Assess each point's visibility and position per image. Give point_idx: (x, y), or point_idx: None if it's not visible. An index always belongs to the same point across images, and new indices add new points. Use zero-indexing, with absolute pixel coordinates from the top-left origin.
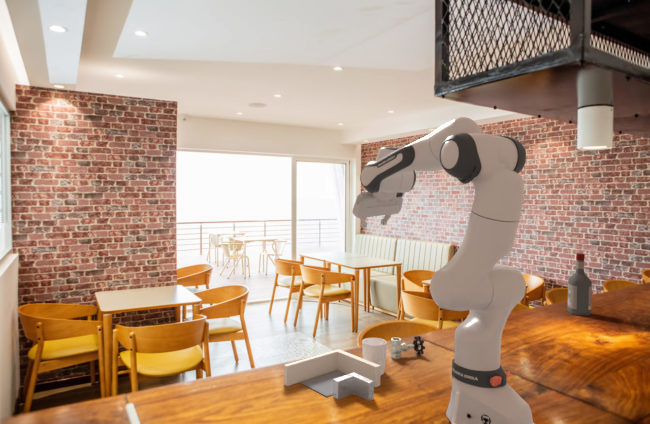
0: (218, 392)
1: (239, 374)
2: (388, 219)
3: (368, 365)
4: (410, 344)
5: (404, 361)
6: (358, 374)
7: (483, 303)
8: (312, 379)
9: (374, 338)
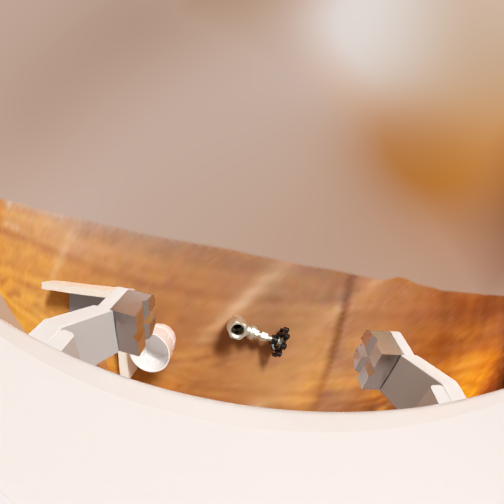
0: (13, 245)
1: (41, 217)
2: (403, 400)
3: (119, 364)
4: (263, 338)
5: (231, 343)
6: (97, 366)
7: None
8: (82, 296)
9: (163, 341)
